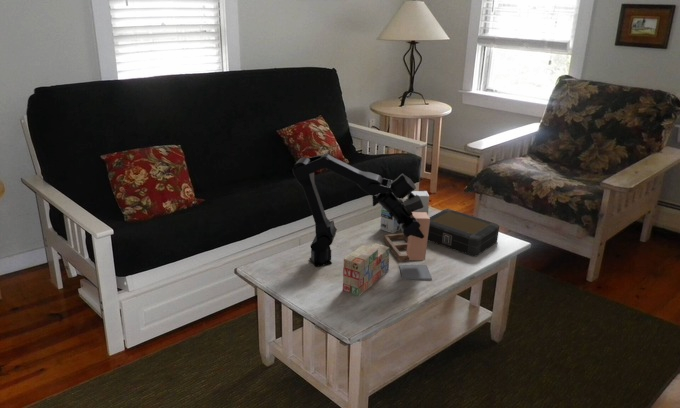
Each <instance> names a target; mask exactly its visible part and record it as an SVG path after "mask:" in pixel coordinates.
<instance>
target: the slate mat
mask: <svg viewBox="0 0 680 408" xmlns="http://www.w3.org/2000/svg"><path fill="white" fill-rule="evenodd" d="M398 268H399V270H400V274H401V277H402V281H432V280H433V278H432V274H431V273H430V270H429V267H428V265H427V264H398Z"/></svg>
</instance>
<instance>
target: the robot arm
mask: <svg viewBox="0 0 680 408" xmlns="http://www.w3.org/2000/svg"><path fill="white" fill-rule="evenodd" d="M324 169H326V170H329V171H330V172H332V173H333V174H336V175H338V176H341V177H342V178H344V179H347V180H349V181H351V182H353V183H355V185H357V186H358V187H359V188H360V189H361V190H362V191H364V192H365V193H366V194H368V195H370V196H371V197H372V198H371V199H372V207H375V206H376V205H377V204H379V205H380V206H381V208H382V207H383V208H384V209H385V210H386V211H387V212H388V213H389V215H390V216H391V217H393V218H394V219H395V220H396V221H397V223H398V224H399V225H400V224H403V225H402V227H401V229H400V230H401V233H403V234H404V235H405V236H406V237H409V236H410V235H412V236H415V237H419V238H424V235H423V233H422V232H421V230H420V229H419V227H420V223H419V221H418V220H417V219H416V218H411V215H412V214H413V213H412V212H413V211H415V210H418V209H421V208H423V207H424V206H423V203H422V201H421V199H420V197H419V196H418V195H417V194H416V196H415V195H414V194H413V193H411V192H412V191H416V189H417V188H416V185H415V183H414V182H413V180H412V179H411V178H410V177H408V176H407V175H405V174H404V173H401V174H400V175H399V176H398V177H397V178H395V179H394V180H393V179H388V178H385V177H382V176H381V175H379V174H377V173H373V172H371V171H364V170H360V169H358V168H356V167H354V166H352V165H350V164H349V163H346V162H344V161H342V160H340V159H338V158H335V157H333V156H332V155H331V154H329V153H323V154H321V155H315V156H311V157H305V156H304V157H301V158H299V159H298V160H297V162H296V163H295V164H294V165H293V167H292V174H293V176H294V177H295V179H296V182H297V183H298V184H299V185H300V186H301V187H302V189H303V191H304V196H305V198H306V201H307V203H308V206H309V209H310V212H311V215H312V218H313V220H314V223H315V229H314V230H315V236H314V237H313V240H312V242H311V244H310V246H309V247H310V249H311V250H310V257H309V261H310V262H311V263H312V264H313V265H314V266H315V267H322V266H328V265H331V264H333V262H332V249H331V245H332V244H333V241H334V239H335V237H336V234H337V230H338V229H337V228H336V226H335V221H334V220H329V219H328V216H327V215H326V211H325V209H324V206H323V203H322V200H321V197H320V194H319V191H318V187H317V185H316V182H315V173H317V172H318V171H321V170H324ZM405 197H407V198H406V199H405V200H403V199H404V198H405ZM403 201H404V202H403Z"/></svg>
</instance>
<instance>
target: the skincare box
mask: <svg viewBox="0 0 680 408" xmlns="http://www.w3.org/2000/svg"><path fill="white" fill-rule="evenodd" d="M411 193H413V194H414V195H415V196H416V194H417V195H418V196H419V197H420V199H421V201H422V203H423V206H424V207H423V208H421V209H418V210H415V211H413V212H426V213H427V214H428V215H429V207H430V204H429V203H430V195H429V193H428V190H417V191H416V190H414V191H412V192H411Z"/></svg>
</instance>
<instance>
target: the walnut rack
mask: <svg viewBox="0 0 680 408" xmlns="http://www.w3.org/2000/svg"><path fill="white" fill-rule="evenodd" d="M382 239H383V241H384V242H385V244H386V245H387V247H389V248H390V251H391V252H392V253H393V254H394V256H395V258H396V259H397V260H398V261H399V262H401V261H402V262H403V261H411V260H410V259H409V257H408V255H407V253H403V254H402V253H401V252H400V250H407V243H408V237H406V236H405V235H404V234H403V232H400V233H391V234H390V233H389V234H383V238H382ZM398 240H405V241H406V242H404V243H403V242H402V243H401V242H400V243H394V242H393V241H398Z"/></svg>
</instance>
